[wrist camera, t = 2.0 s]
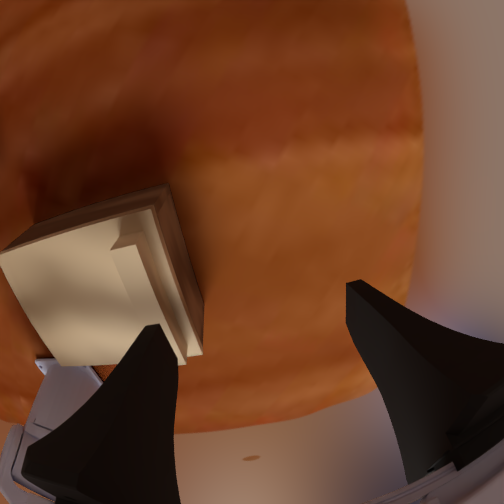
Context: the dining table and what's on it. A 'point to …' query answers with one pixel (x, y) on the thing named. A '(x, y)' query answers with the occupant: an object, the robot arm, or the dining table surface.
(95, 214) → the walnut box
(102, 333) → the box lid
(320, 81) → the dining table surface
